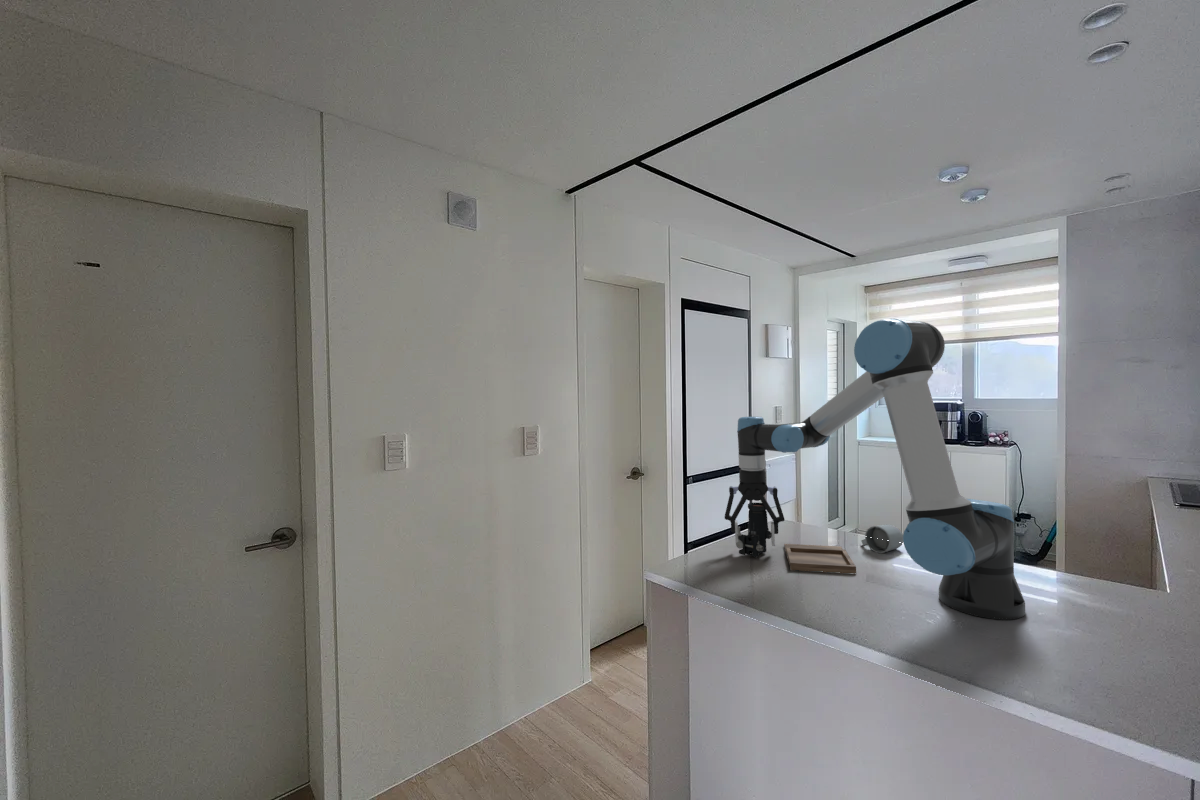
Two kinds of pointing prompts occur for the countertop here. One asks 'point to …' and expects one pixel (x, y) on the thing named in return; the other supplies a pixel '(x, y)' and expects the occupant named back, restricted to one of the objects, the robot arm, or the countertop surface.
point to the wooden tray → (819, 558)
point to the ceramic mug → (883, 533)
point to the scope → (755, 531)
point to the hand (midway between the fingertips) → (754, 543)
